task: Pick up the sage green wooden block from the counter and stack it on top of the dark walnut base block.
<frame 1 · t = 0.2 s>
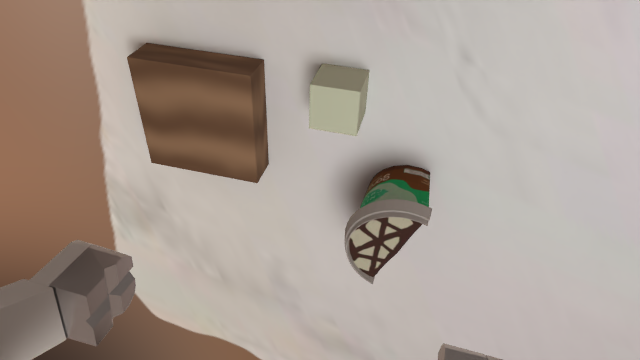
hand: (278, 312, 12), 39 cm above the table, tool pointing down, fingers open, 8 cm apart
walnut base: (210, 106, 57), on the table
sage block: (344, 88, 51), on the table
food container: (386, 184, 58), on the table
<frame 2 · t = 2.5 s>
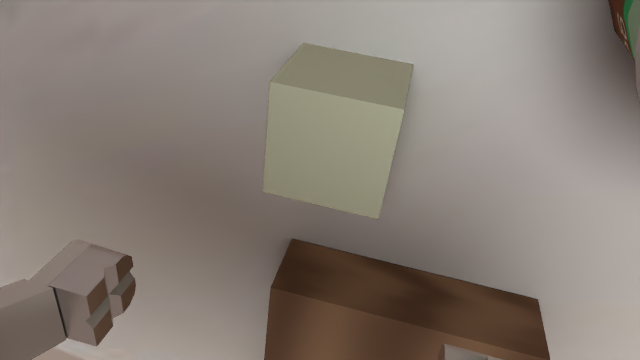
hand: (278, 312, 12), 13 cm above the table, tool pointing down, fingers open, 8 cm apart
walnut base: (386, 346, 31), on the table
sage block: (349, 104, 23), on the table
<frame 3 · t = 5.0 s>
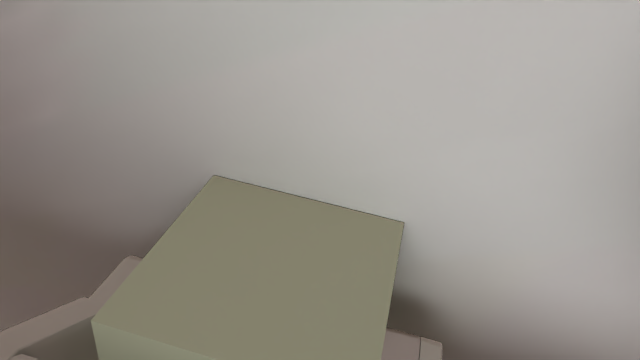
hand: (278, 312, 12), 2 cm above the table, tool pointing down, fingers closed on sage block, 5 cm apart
sage block: (296, 270, 13), on the table, touching gripper
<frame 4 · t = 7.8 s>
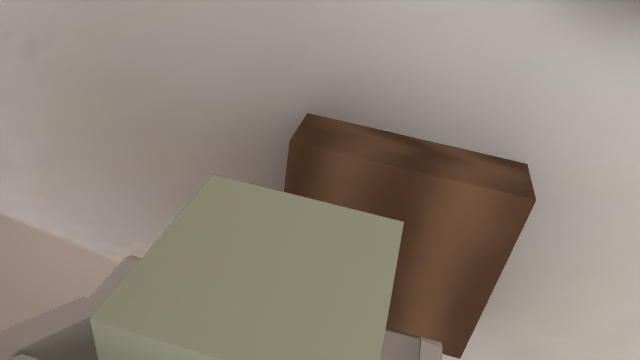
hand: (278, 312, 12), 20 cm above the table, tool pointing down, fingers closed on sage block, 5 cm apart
walnut base: (390, 223, 34), on the table
sage block: (296, 269, 13), point 18 cm above the table, touching gripper
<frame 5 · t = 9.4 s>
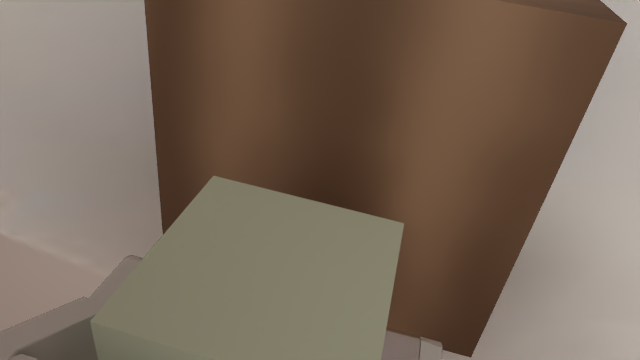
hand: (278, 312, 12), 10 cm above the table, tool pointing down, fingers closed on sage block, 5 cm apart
walnut base: (352, 134, 21), on the table
sage block: (296, 270, 13), point 9 cm above the table, touching gripper
when the fingers open (7 cm above the table, at t = 10.9 s): sage block drops 1 cm, resting on walnut base.
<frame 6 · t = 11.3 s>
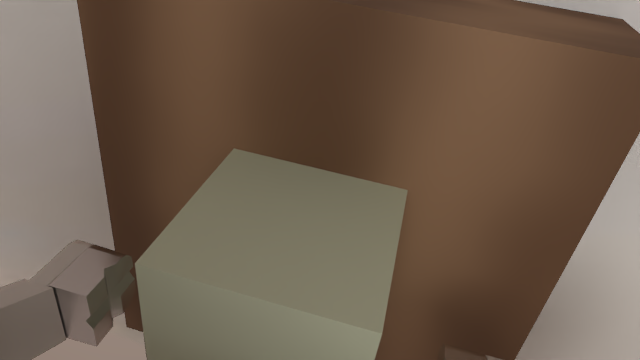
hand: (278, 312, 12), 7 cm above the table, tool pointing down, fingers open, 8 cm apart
walnut base: (338, 173, 18), on the table
sage block: (308, 237, 15), point 4 cm above the table, touching walnut base
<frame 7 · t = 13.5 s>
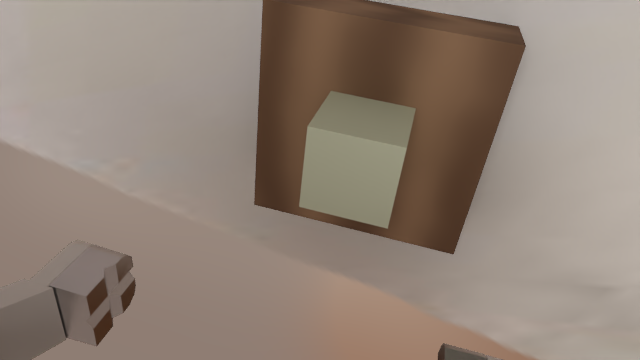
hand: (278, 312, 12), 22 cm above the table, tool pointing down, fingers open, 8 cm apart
walnut base: (377, 112, 32), on the table
sage block: (365, 137, 29), point 4 cm above the table, touching walnut base
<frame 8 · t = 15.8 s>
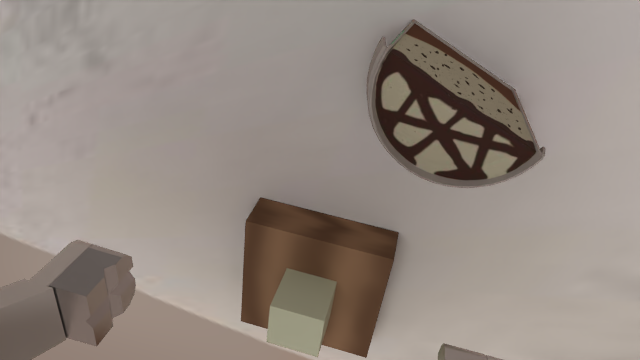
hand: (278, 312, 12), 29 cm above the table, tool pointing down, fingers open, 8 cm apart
walnut base: (319, 266, 51), on the table
sage block: (308, 292, 47), point 4 cm above the table, touching walnut base
food container: (439, 85, 38), on the table
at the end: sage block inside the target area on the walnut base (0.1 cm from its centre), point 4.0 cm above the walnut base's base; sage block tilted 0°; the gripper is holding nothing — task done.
